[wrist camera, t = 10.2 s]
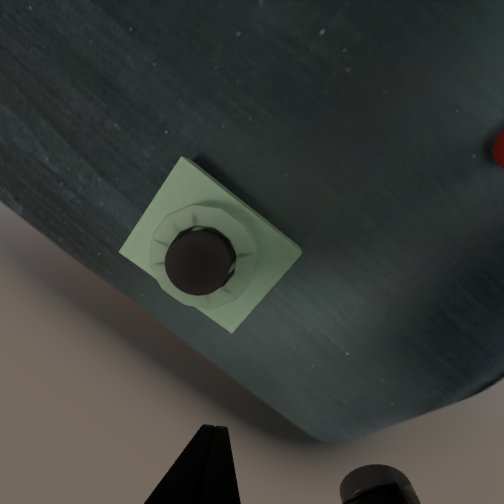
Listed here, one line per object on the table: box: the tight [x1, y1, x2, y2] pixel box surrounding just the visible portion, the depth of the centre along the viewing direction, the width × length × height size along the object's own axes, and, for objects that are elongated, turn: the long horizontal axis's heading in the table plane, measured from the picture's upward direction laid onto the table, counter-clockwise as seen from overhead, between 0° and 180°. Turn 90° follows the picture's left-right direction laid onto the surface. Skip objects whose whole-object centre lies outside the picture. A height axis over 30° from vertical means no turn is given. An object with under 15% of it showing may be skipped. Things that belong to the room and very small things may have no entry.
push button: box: [165, 230, 232, 296], centre depth 14 cm, size 4×4×2 cm
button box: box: [119, 156, 302, 333], centre depth 17 cm, size 10×8×4 cm
